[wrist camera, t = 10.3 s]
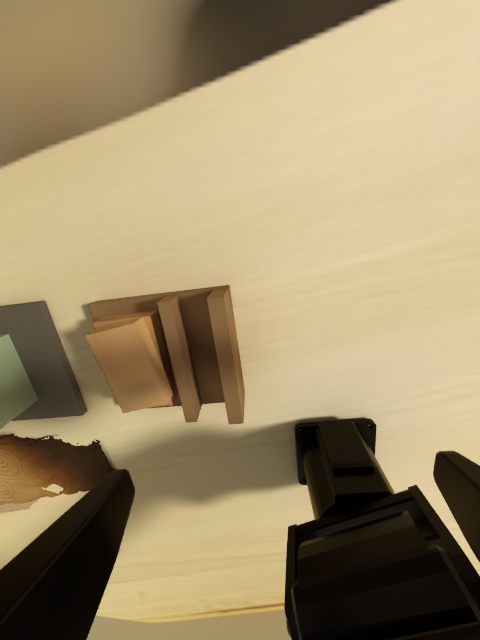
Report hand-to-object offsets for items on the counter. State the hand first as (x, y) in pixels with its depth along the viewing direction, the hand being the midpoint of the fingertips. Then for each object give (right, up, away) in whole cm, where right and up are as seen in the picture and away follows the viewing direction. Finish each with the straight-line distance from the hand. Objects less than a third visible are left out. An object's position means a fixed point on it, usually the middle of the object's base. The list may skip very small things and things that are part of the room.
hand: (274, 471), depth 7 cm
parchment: (-25, -11, +19) cm, 33 cm away
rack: (-6, +2, +12) cm, 14 cm away
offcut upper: (-8, +1, +10) cm, 13 cm away
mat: (-19, +1, +14) cm, 23 cm away
